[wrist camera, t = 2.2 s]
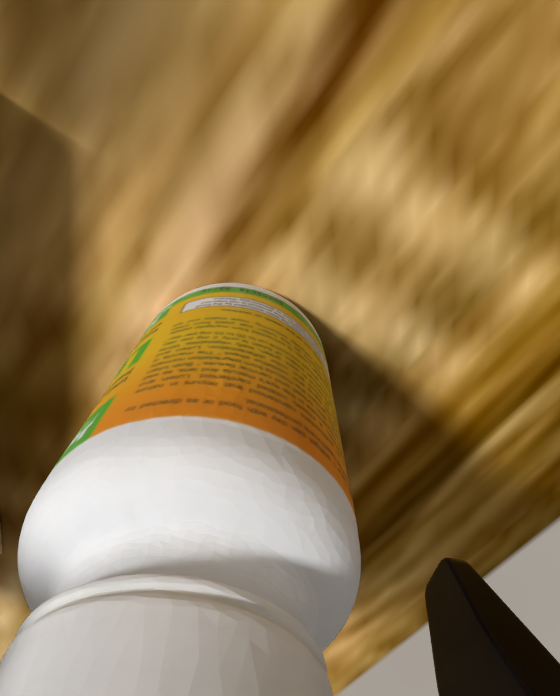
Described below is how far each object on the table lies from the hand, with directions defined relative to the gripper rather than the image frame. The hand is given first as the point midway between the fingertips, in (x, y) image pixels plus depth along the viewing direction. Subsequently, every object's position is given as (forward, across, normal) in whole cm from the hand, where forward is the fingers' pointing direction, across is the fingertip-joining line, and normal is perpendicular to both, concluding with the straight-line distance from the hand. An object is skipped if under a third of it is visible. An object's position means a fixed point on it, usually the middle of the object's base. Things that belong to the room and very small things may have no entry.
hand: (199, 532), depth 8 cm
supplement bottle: (+6, 0, 0) cm, 6 cm away
